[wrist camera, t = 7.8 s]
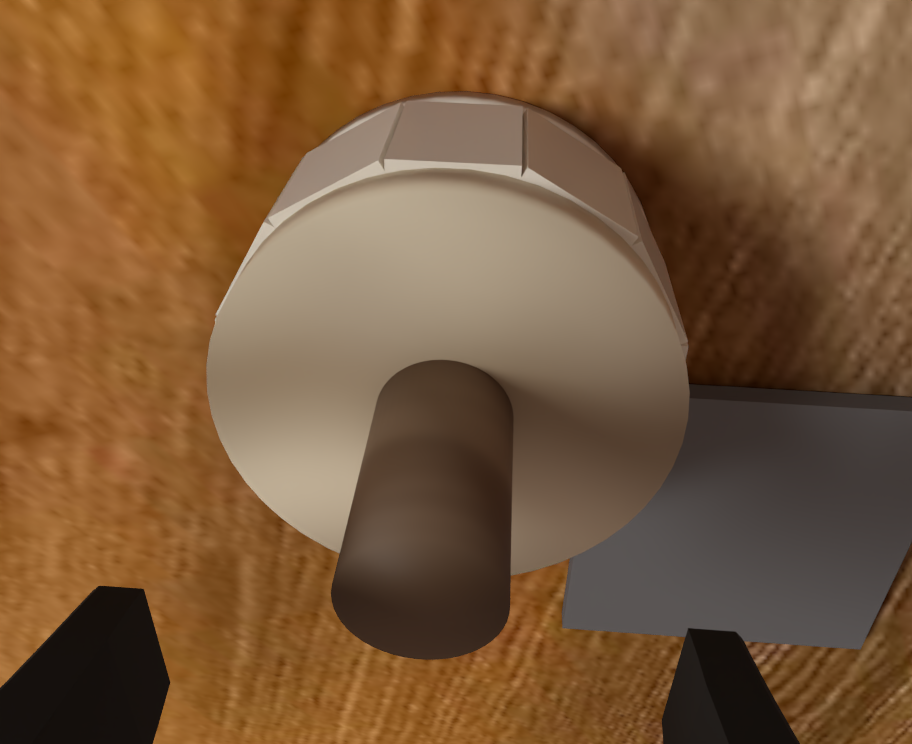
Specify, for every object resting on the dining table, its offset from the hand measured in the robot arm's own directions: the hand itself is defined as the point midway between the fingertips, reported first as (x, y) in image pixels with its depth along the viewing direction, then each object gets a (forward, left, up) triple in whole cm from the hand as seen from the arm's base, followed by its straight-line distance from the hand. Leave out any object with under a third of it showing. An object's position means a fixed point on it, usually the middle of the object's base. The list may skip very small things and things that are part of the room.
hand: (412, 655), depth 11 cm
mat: (-7, -8, -10) cm, 15 cm away
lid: (0, 0, -6) cm, 6 cm away
